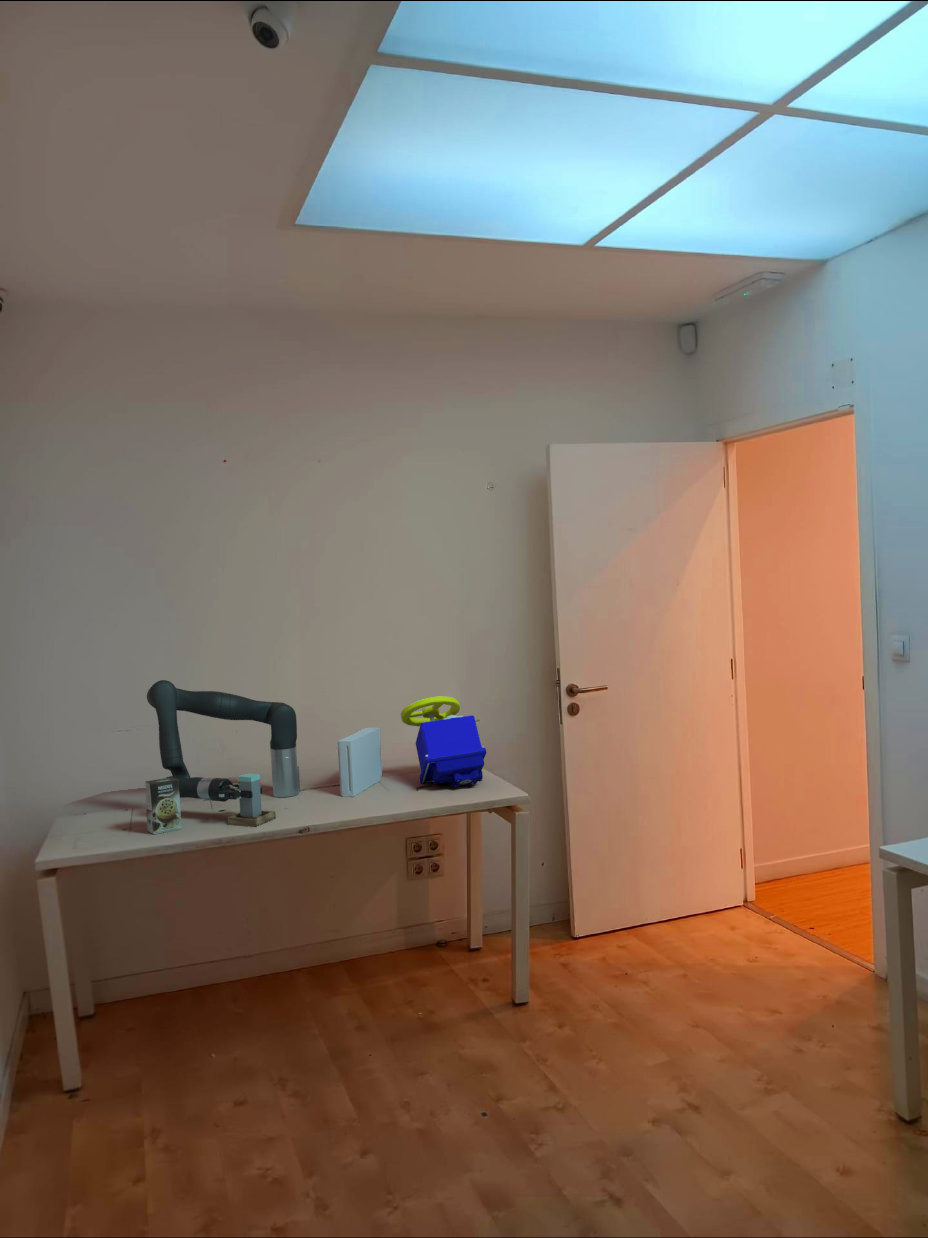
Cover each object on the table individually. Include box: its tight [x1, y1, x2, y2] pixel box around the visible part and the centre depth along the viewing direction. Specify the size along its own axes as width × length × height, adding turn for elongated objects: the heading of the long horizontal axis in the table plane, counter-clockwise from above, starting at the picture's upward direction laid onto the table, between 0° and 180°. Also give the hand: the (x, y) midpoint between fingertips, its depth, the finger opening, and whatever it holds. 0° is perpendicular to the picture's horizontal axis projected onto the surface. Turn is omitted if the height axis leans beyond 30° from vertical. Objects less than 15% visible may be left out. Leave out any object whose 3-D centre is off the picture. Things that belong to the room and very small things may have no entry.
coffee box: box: [144, 777, 182, 835], centre depth 299 cm, size 9×6×16 cm
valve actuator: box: [400, 695, 488, 789], centre depth 343 cm, size 26×27×30 cm
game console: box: [337, 727, 383, 798], centre depth 344 cm, size 6×27×20 cm, turn 163°
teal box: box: [237, 773, 263, 817], centre depth 304 cm, size 5×5×13 cm
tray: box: [227, 809, 277, 828], centre depth 304 cm, size 10×11×2 cm
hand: (256, 792), depth 303 cm, fingers closed on teal box, 4 cm apart
